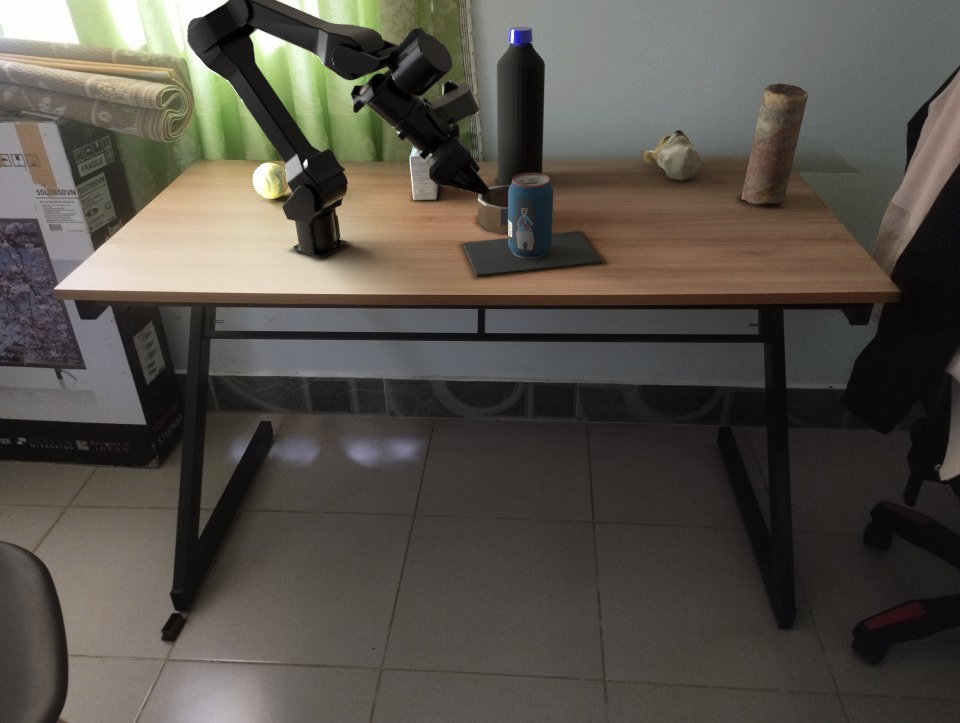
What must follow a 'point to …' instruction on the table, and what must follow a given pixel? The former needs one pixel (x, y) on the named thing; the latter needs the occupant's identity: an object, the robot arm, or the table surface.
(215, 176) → the table surface
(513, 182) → the soda can
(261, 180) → the tennis ball
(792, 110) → the brown tall cylinder
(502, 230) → the steel holder
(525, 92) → the bottle
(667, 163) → the ceramic sculpture
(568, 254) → the rubber mat
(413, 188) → the medicine box
